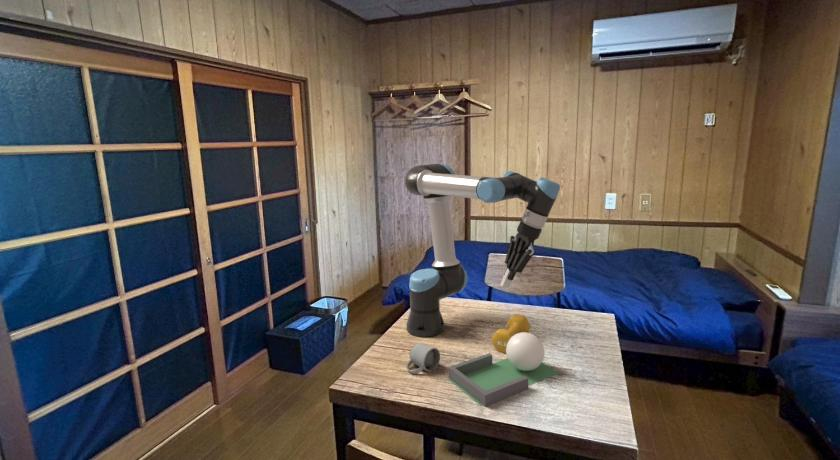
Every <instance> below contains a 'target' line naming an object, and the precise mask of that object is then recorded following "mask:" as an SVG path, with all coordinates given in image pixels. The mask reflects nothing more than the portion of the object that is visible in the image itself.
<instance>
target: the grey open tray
mask: <svg viewBox="0 0 840 460" xmlns="http://www.w3.org/2000/svg"><path fill="white" fill-rule="evenodd" d="M492 364H493V354H491V353H486V354H483V355H480V356H477V357H474V358H471V359H468V360H466V361H462V362H460V363H457V364H454V365H451V366H448V367H447V368H448V379H451V380H452V381H454V382H455V383H456V384H457V385H459V386H460V387H461V388H462V389H464V390H465V391H466V392H467V393H469V394H470V395H471V396H472V397H474V398H475V399H476V400H477V401H479V402H480V403H481V404H482V405H481V406H484V407H487V406H490V405H492V404H494V403H497V402H500V401H502V400H504V399H506V398H509V397H511V396H514V395H516V394H517V393H519V394H520V393H521V392H523V391H526V390H528V389H529V386H528V377H526V376H523V377H520V378H518V379H515V380H513V381H510V382H507V383H505V384H502V385H500V386H497V387H495V388H492V389H490V390H487V391H485V390H484V389H482V388H481V387H480V386H478V385H477V384H476V383H474V382H473V381H472V380H470V379H469V378H468V377H466V376H465V374H468V373H471V372H474V371H476V370H479V369H482V368H485V367H487V366H490V365H492Z"/></svg>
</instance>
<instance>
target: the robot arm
mask: <svg viewBox="0 0 840 460" xmlns="http://www.w3.org/2000/svg"><path fill="white" fill-rule="evenodd" d="M404 185H405V188H406V189H407V191H408V192H409V193H410V194H412V195H415V196H423V200H424V201H425V202H426V203H427V206H428V213H429V215H428V216H429V221H430V222H429V223H430V229H431V230H430V231H431V238H432V247H433V253H434V261H433V262H432V264H431V268H424V269H423V268H422V269H418V270H416V271H414V272H413V273H412V274H410V277H409V284H408V287H409V288H408V289H409V303H410V304H409V305H410V308H409V309H410V311H409V315H408V317H407V321H406V331H407V332H408V333H409V335H412V336H415V337H423V338H426V337H427V338H429V337H434V336H438V335H441V334H442V333H443V332H444V331H445V321H444V318H443V316H442V313H441V310H440V309H441V308H440V302H441V300H443V299H446V298H449V297H450V296H451V297H452V296H455V295H457V294H458V293H460V292H462V291H463V290H464V289H465V288H466V287H467V284H468V274H467V270H466V269H465V267H464V266H463V265H462V264H461V261H460V260H459V259H457V257H456V248H455V240H454V239H455V238H454V233H453V232H454V231H453V223H452V214H451V207H450V205H451V204H450V199H451V198H452V197H456V198H467V199H475V200H481V201H482V202H483V203H485V204H492V203H493V204H494V203H498V202H502V201H507V200H512V199H519V200H520V201H521V200H522V201H523V202H525V203H527V204H526V208H525V210H524V213H523V215H522V217H521V221H520V222H519V224H518V225H517V229H516V231H517V233H516V235H511V236H510V237H509V238H510V239H509V242H510V243H509V246H508V248H507V253H506V256H505V260H504V263H505V264H506V268H505V271H504V273H503V277H502V280H501V282H500V284H499V285H500V286H501V287H502V288H507V289H509V288H510V286H511V283H512V282H513V281H514V278H515V276H516V274H517V273H519V274H521V273H522V272H523V271H524V269H525V268H526V267H527V265H528V263H529V262H530V261H531V259H532V257H533V256H534V255H536V253H537V251H536V250H535V249H534V245H535V241H536V240H537V239H539V237H540V236H541V233H542V231H543V228H544V226H545V224H546V222H547V219H548V218H549V215H550V212H551V210H552V209H553V206H554V204H555V202H556V200H557V199H558V198H557V197H558V195H559V192H560V190H561V186H560V183H558V182H556V181H553V180H551V179H547V178H546V177H542V176H541V177H539V178H538V179H537V181H536V180H533V179H531V178H529V177H527V176H524V175H522V174H521V173H519V172H515V171H512V170H510V171H506V172H505V173H504V174H503V175H502V176H500V177H492V176H476V175H475V176H474V175H464V174H461V175H460V174H455V171H454V170H453V168H452V167H450V165H448V164H445V163H434V164H433V163H432V164H422V165H415V166H413V167H411V168H409V170H407V172H406V174H405V176H404Z"/></svg>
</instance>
